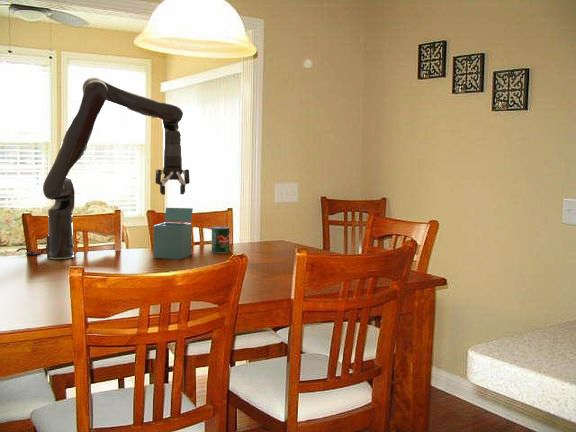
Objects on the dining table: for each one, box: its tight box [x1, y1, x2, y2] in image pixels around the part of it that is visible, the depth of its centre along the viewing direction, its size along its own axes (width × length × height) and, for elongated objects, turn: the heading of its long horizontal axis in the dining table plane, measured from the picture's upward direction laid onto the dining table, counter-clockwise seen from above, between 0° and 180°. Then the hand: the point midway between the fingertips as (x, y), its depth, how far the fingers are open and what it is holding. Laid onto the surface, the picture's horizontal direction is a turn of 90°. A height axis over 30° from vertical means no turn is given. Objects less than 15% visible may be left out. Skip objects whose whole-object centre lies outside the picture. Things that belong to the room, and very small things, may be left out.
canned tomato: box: [211, 225, 230, 254], centre depth 266 cm, size 8×8×11 cm
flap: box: [164, 207, 194, 223], centre depth 258 cm, size 12×6×1 cm
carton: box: [153, 221, 192, 260], centre depth 252 cm, size 12×12×14 cm
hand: (172, 194), depth 251 cm, fingers open, 8 cm apart
